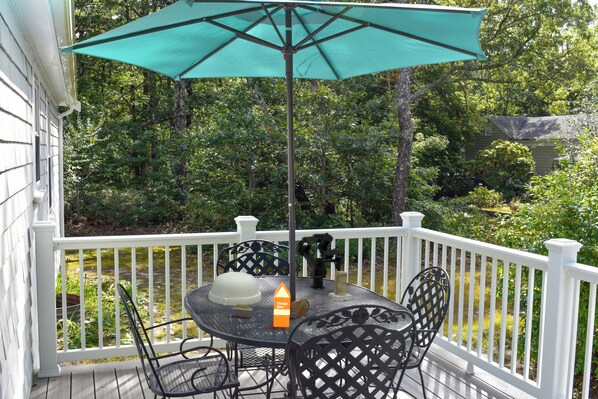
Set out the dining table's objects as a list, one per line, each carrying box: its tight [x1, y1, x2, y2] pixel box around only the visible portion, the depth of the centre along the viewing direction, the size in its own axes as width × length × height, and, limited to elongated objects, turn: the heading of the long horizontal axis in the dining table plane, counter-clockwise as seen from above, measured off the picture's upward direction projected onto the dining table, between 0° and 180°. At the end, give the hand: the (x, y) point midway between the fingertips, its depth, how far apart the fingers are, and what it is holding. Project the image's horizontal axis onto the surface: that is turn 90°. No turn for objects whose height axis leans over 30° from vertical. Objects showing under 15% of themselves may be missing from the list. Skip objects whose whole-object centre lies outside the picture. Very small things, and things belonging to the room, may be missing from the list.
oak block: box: [333, 270, 348, 296], centre depth 325 cm, size 5×5×13 cm
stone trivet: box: [328, 292, 353, 299], centre depth 326 cm, size 10×10×3 cm
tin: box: [289, 298, 310, 319], centre depth 290 cm, size 15×3×8 cm, turn 143°
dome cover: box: [207, 271, 262, 306], centre depth 319 cm, size 32×30×14 cm
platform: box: [232, 304, 253, 319], centre depth 286 cm, size 12×18×7 cm, turn 78°
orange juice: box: [273, 282, 291, 328], centre depth 275 cm, size 8×9×20 cm
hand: (333, 273), depth 332 cm, fingers open, 9 cm apart
